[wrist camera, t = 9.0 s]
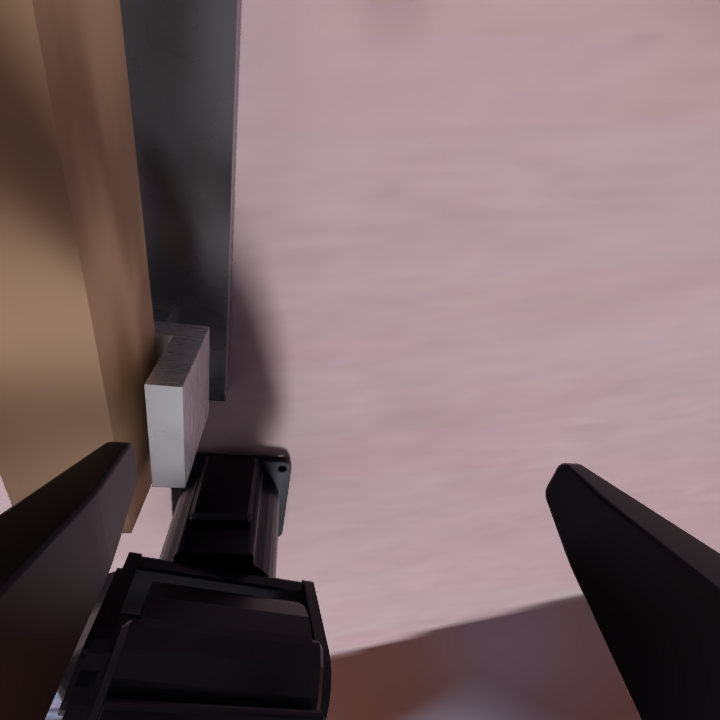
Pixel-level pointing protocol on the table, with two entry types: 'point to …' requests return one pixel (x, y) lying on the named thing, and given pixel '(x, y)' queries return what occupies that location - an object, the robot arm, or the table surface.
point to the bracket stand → (185, 208)
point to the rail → (70, 247)
